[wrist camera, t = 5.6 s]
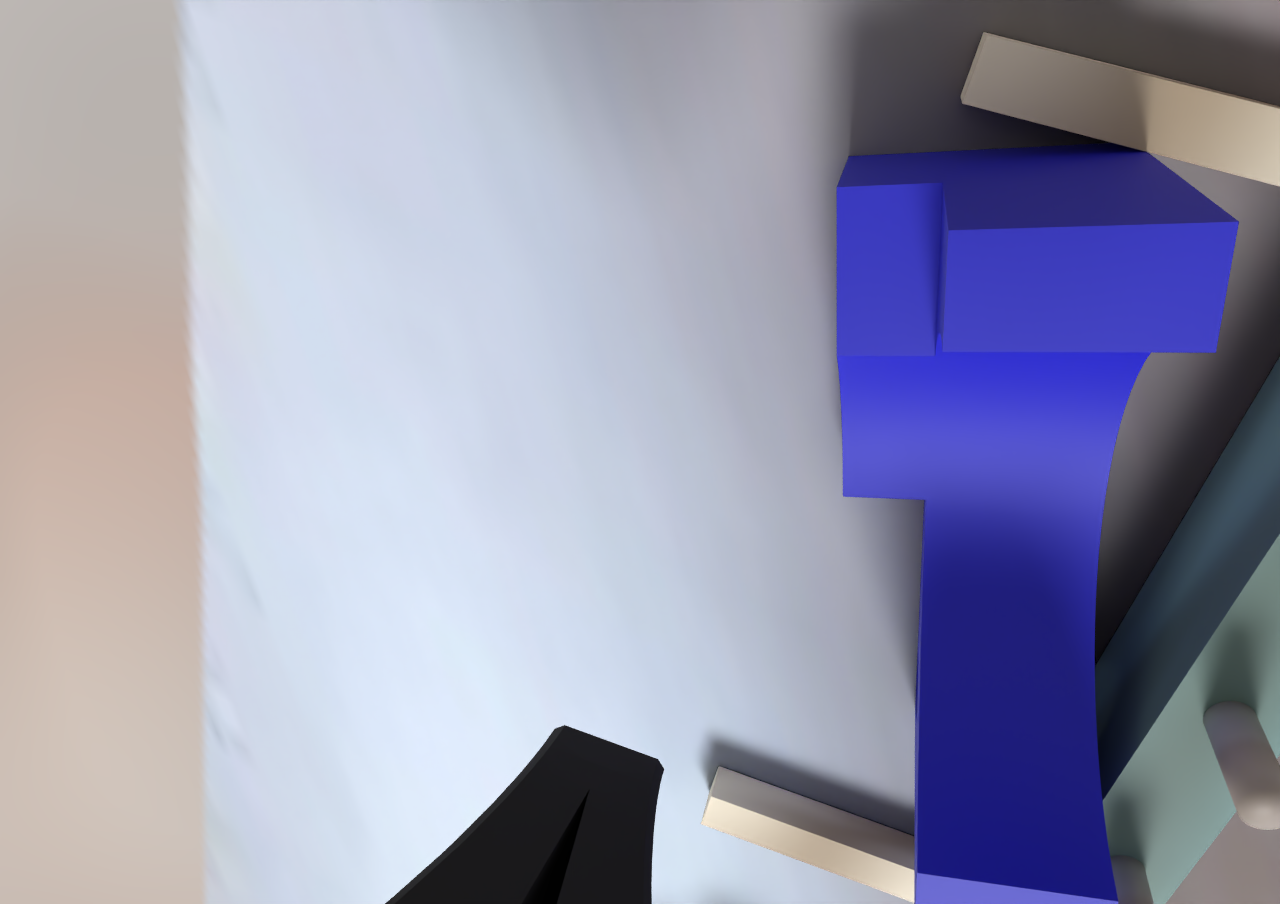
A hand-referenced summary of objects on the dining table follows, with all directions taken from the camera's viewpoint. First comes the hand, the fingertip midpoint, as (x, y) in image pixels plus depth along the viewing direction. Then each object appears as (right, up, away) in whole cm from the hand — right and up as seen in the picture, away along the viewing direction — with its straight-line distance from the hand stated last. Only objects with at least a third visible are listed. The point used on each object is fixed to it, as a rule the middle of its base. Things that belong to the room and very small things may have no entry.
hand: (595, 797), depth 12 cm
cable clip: (+7, +4, +7) cm, 11 cm away
